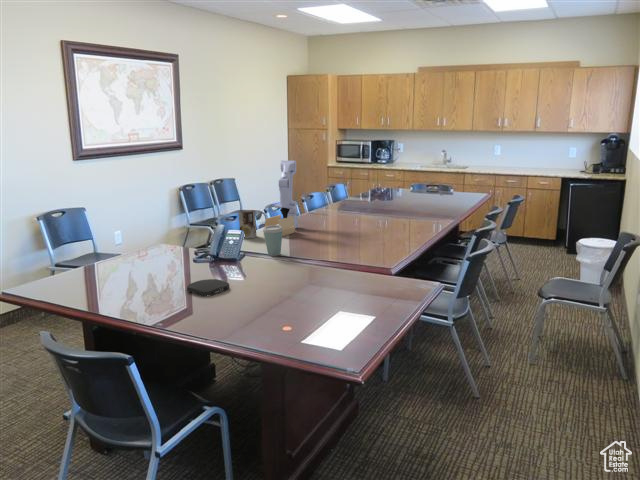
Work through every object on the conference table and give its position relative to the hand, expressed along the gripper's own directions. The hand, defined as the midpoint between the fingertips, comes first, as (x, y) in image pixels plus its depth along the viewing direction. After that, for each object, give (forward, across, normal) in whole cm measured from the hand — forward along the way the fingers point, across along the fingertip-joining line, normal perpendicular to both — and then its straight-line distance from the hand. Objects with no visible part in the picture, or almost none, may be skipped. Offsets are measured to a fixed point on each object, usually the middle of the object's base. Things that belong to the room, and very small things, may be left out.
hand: (285, 220), depth 324 cm
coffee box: (+10, -16, -17) cm, 25 cm away
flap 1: (+5, -11, 0) cm, 12 cm away
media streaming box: (+10, +38, -104) cm, 111 cm away
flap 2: (+5, +1, 0) cm, 5 cm away
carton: (+9, -5, 0) cm, 10 cm away
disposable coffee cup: (+10, +24, -43) cm, 50 cm away
